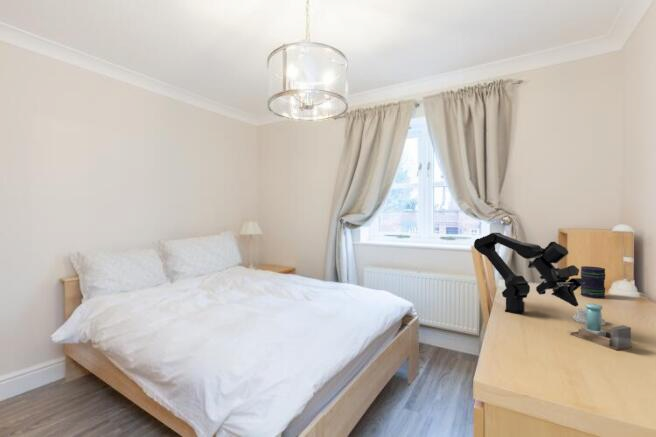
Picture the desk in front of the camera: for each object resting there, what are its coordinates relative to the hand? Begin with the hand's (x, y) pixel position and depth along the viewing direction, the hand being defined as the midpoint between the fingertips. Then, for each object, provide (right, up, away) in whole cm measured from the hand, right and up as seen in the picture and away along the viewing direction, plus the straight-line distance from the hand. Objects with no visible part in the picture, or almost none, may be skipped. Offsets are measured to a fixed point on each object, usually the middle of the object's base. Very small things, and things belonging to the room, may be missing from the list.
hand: (576, 305), depth 112 cm
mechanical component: (+15, -10, +12) cm, 22 cm away
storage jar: (+48, -9, +50) cm, 70 cm away
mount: (+2, -10, -7) cm, 12 cm away
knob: (+2, -10, -5) cm, 11 cm away
